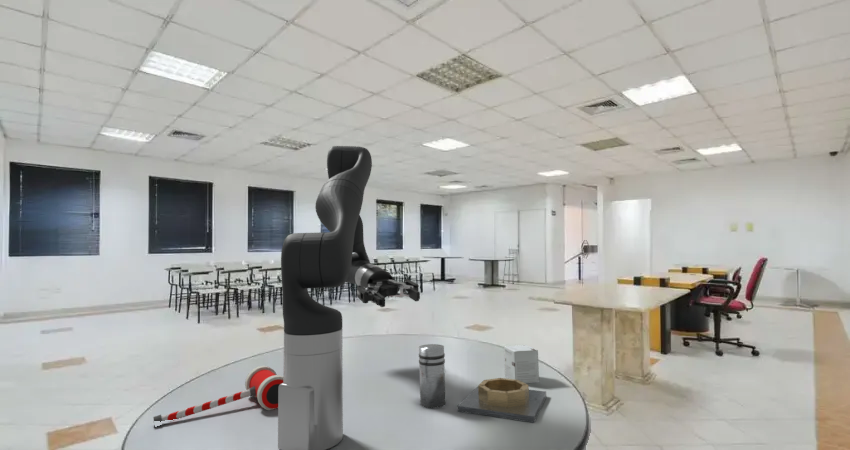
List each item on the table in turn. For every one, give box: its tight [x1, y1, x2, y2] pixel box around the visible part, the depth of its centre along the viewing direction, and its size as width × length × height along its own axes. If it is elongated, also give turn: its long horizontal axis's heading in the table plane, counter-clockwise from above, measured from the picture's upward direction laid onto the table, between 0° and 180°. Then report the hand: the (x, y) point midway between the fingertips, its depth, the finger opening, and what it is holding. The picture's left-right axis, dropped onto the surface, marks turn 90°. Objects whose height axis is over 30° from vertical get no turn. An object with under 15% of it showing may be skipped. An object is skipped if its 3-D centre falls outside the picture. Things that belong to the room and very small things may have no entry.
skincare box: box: [503, 344, 540, 384], centre depth 92 cm, size 6×6×7 cm
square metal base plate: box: [457, 377, 547, 423], centre depth 77 cm, size 14×14×4 cm
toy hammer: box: [152, 365, 283, 422], centre depth 77 cm, size 23×12×6 cm, turn 127°
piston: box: [418, 343, 447, 409], centre depth 78 cm, size 5×5×11 cm
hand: (401, 299), depth 88 cm, fingers open, 8 cm apart
